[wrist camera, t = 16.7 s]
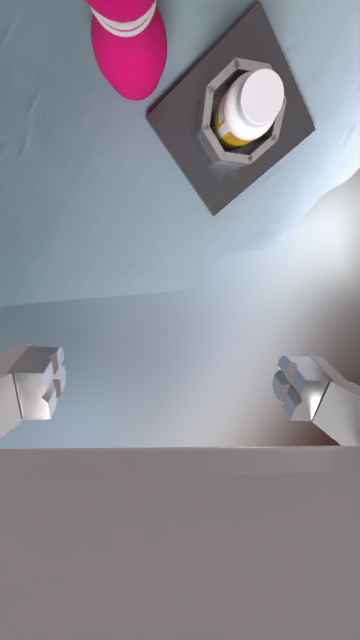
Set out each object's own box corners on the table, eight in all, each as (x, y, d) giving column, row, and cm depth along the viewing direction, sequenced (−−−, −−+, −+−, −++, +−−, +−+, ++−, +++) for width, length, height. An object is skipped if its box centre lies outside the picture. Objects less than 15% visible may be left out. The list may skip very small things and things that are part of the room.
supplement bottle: (261, 131, 32) (301, 108, 24) (224, 159, 33) (250, 147, 24) (241, 84, 30) (277, 39, 21) (202, 115, 31) (222, 85, 22)
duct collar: (212, 215, 37) (220, 218, 32) (145, 119, 31) (144, 107, 27) (311, 131, 34) (335, 121, 29) (256, 7, 28) (275, -29, 24)
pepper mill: (99, 13, 27) (-3, -335, 9) (168, 28, 28) (195, -260, 10) (100, 100, 30) (24, -36, 12) (162, 111, 31) (175, -1, 13)
